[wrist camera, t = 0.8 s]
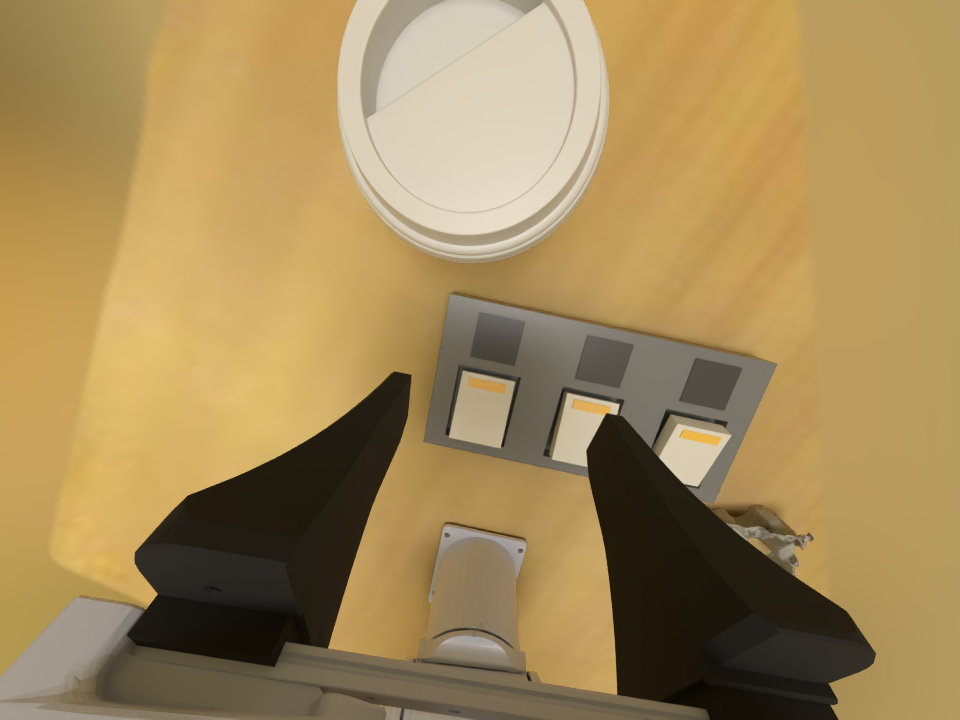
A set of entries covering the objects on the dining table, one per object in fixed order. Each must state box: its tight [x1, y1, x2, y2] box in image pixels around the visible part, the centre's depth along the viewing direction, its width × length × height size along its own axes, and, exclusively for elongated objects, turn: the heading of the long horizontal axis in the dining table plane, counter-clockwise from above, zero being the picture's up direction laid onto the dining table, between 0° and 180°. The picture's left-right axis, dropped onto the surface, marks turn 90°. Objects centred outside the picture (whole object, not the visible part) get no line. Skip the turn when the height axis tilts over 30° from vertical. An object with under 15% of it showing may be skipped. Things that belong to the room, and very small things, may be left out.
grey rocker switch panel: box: [424, 292, 777, 504], centre depth 27 cm, size 12×24×2 cm, turn 78°
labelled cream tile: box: [449, 369, 515, 448], centre depth 26 cm, size 5×4×1 cm
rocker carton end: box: [652, 415, 732, 487], centre depth 26 cm, size 5×4×1 cm
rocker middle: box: [549, 391, 620, 467], centre depth 26 cm, size 5×4×1 cm
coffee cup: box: [337, 0, 610, 263], centre depth 17 cm, size 10×10×15 cm
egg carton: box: [711, 505, 813, 576], centre depth 29 cm, size 11×8×4 cm
